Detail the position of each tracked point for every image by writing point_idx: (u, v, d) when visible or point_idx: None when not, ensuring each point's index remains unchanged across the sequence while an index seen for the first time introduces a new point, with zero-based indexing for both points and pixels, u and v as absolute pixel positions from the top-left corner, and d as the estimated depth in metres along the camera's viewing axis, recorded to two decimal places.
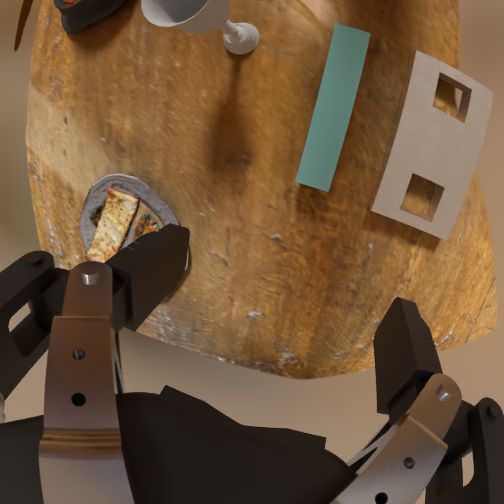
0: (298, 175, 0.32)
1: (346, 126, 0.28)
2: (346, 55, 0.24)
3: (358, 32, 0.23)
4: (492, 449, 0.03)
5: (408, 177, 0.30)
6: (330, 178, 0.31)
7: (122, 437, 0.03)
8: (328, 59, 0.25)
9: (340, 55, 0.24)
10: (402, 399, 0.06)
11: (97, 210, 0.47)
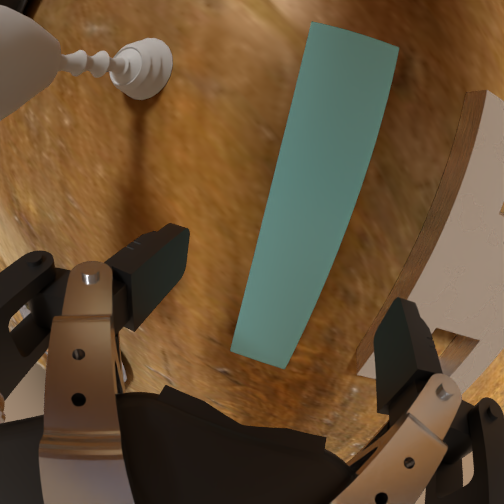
0: (234, 344, 0.19)
1: (324, 277, 0.15)
2: (337, 107, 0.11)
3: (369, 44, 0.09)
4: (492, 449, 0.03)
5: None
6: (288, 354, 0.18)
7: (122, 437, 0.03)
8: (291, 119, 0.12)
9: (321, 107, 0.11)
10: (402, 399, 0.06)
11: None
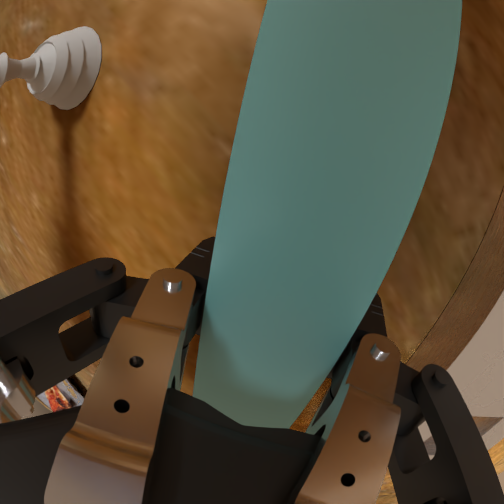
0: None
1: (307, 397, 0.08)
2: (344, 102, 0.05)
3: None
4: (449, 419, 0.04)
5: None
6: None
7: (154, 454, 0.03)
8: (243, 131, 0.06)
9: (310, 103, 0.05)
10: (342, 360, 0.07)
11: None
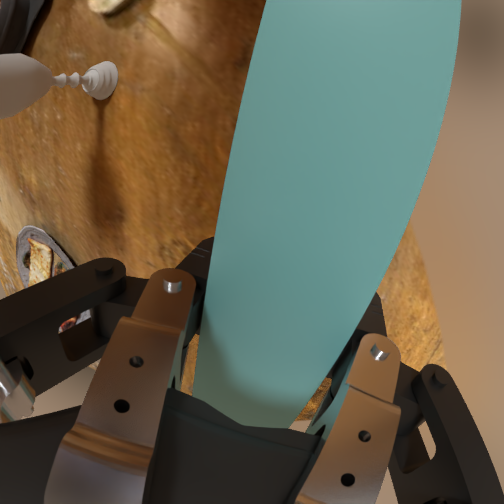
0: None
1: (306, 397, 0.08)
2: (342, 104, 0.05)
3: None
4: (450, 419, 0.04)
5: None
6: None
7: (154, 453, 0.03)
8: (241, 133, 0.06)
9: (308, 105, 0.05)
10: (342, 360, 0.07)
11: (26, 256, 0.43)
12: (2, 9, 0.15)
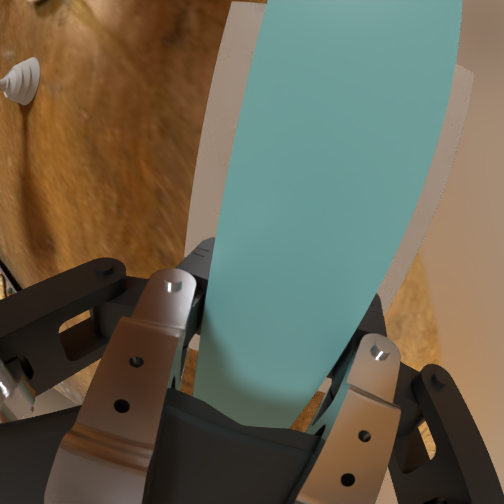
0: None
1: (307, 398, 0.08)
2: (343, 105, 0.05)
3: None
4: (450, 419, 0.04)
5: None
6: None
7: (154, 454, 0.03)
8: (242, 134, 0.06)
9: (309, 106, 0.05)
10: (342, 360, 0.07)
11: None
12: None
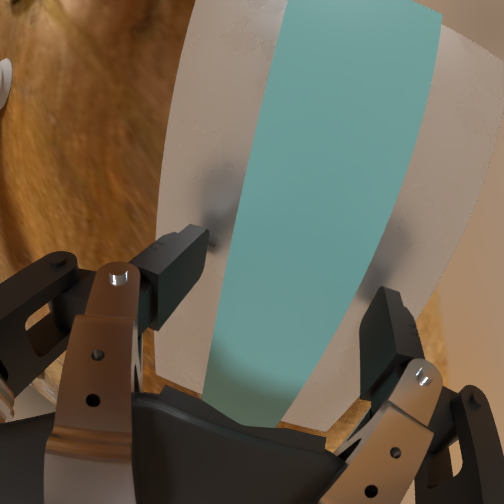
0: None
1: (313, 363, 0.10)
2: (342, 107, 0.06)
3: (394, 5, 0.04)
4: (479, 438, 0.04)
5: (207, 337, 0.14)
6: None
7: (133, 442, 0.03)
8: (262, 128, 0.07)
9: (315, 107, 0.06)
10: (383, 384, 0.07)
11: None
12: None
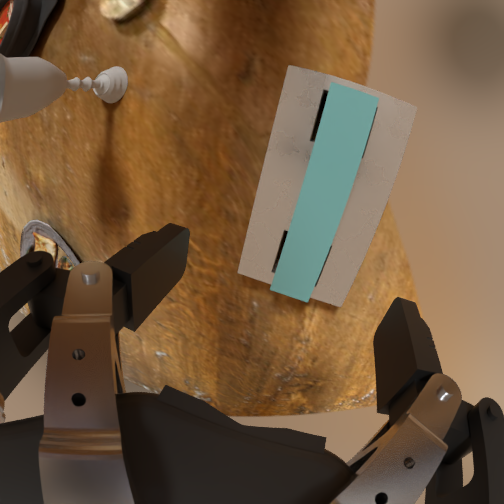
0: (273, 283, 0.28)
1: (334, 230, 0.24)
2: (342, 132, 0.21)
3: (362, 96, 0.19)
4: (492, 449, 0.03)
5: (278, 236, 0.29)
6: (310, 288, 0.27)
7: (122, 437, 0.03)
8: (317, 138, 0.21)
9: (334, 132, 0.21)
10: (402, 399, 0.06)
11: (30, 249, 0.45)
12: (15, 8, 0.17)
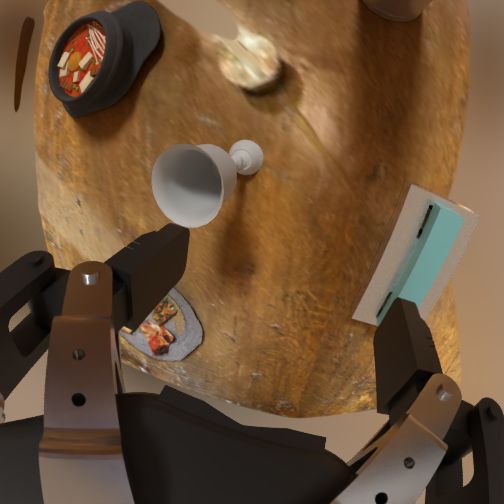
0: None
1: (424, 295, 0.34)
2: (440, 240, 0.31)
3: (455, 218, 0.29)
4: (492, 449, 0.03)
5: (385, 295, 0.39)
6: None
7: (122, 437, 0.03)
8: (426, 243, 0.31)
9: (436, 240, 0.31)
10: (402, 399, 0.06)
11: None
12: (109, 42, 0.27)
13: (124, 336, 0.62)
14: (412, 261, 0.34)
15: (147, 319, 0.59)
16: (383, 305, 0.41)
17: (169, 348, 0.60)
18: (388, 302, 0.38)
